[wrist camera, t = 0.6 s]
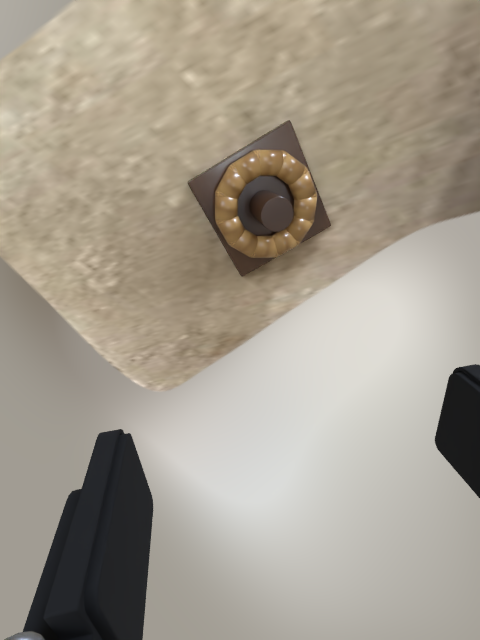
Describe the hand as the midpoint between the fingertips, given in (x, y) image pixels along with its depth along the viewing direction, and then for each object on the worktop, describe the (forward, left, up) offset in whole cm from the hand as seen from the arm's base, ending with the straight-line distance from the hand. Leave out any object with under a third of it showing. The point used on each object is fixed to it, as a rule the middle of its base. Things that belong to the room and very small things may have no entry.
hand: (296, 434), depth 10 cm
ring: (-1, +5, -21) cm, 21 cm away
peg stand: (-1, +5, -22) cm, 23 cm away
